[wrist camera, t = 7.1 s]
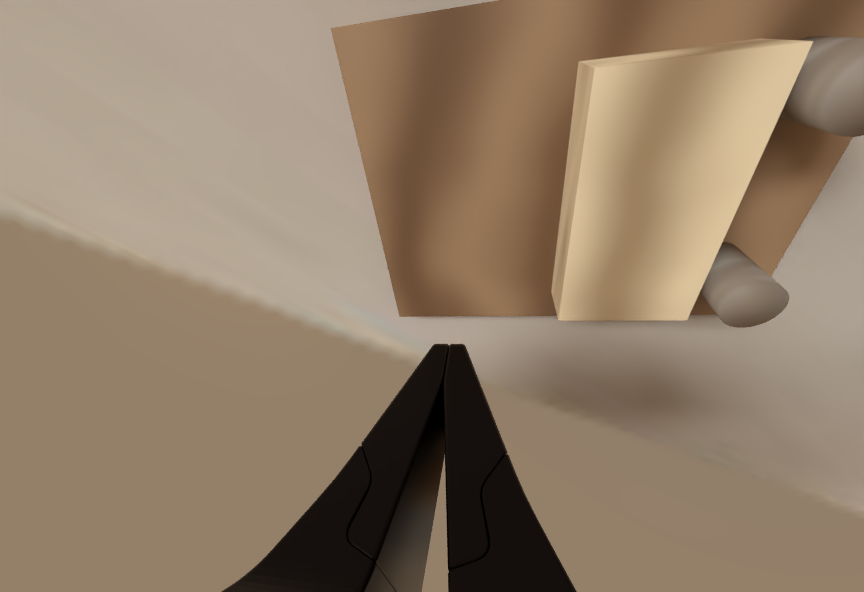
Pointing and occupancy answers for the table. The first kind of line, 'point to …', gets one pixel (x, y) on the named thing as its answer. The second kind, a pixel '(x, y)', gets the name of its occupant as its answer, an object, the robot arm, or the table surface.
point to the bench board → (549, 139)
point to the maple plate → (662, 172)
